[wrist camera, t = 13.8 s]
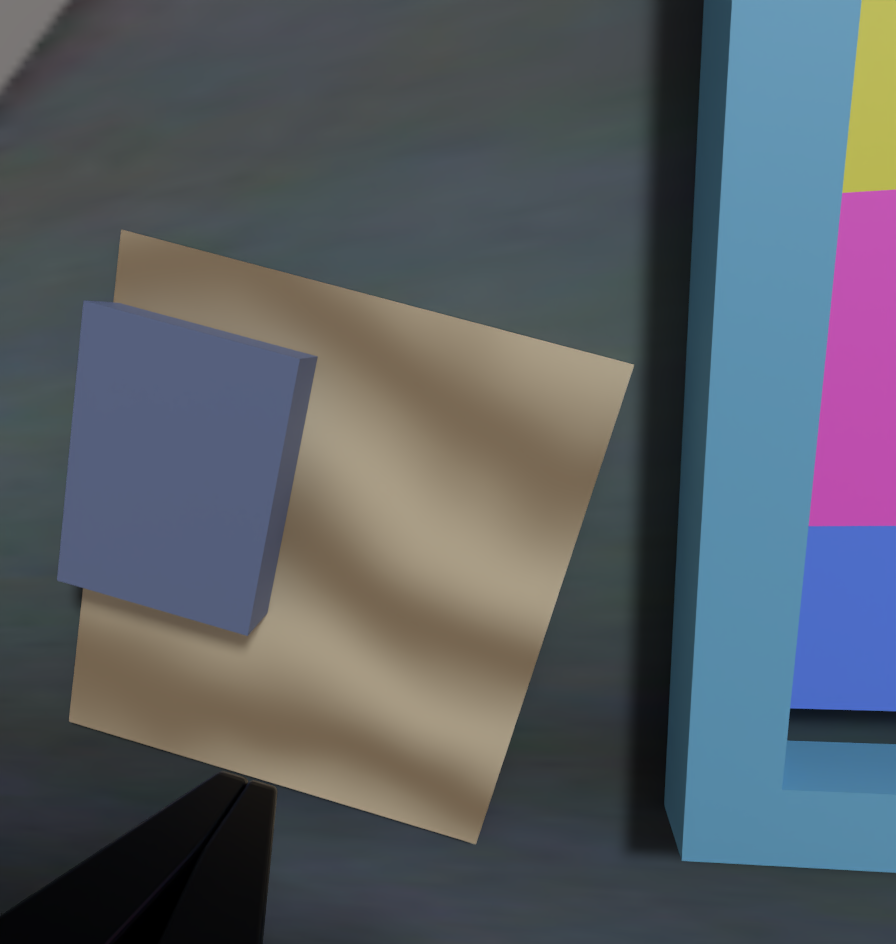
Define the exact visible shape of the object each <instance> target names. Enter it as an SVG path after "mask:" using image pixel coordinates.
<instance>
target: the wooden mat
mask: <svg viewBox="0 0 896 944" xmlns="http://www.w3.org/2000/svg"><path fill="white" fill-rule="evenodd" d="M114 303H122V304H125V305H129V306H133V307H136V308H140V309H144V310H148V311H151V312H155V313H159V314H162V315H166V316H170V317H173V318H177V319H181V320H185V321H188V322H192V323H196V324H199V325H203V326H207V327H211V328H214V329H218V330H222V331H225V332H229V333H233V334H236V335H240V336H244V337H248V338H251V339H255V340H259V341H262V342H266V343H270V344H274V345H277V346H281V347H285V348H288V349H292V350H296V351H300V352H303V353H307V354H311V355H314V356H318V358H317V363H316V368H315V373H314V378H313V383H312V388H311V393H310V398H309V404H308V409H307V414H306V419H305V424H304V429H303V434H302V439H301V444H300V450H299V455H298V460H297V465H296V470H295V475H294V480H293V485H292V490H291V495H290V501H289V506H288V511H287V516H286V521H285V526H284V531H283V536H282V541H281V547H280V552H279V557H278V562H277V567H276V572H275V577H274V582H273V587H272V592H271V598H270V603H269V608H268V613H267V614H266V615H265V616H264V618H263V619H262V620H261V621H260V622H259V623H258V625H257V626H256V627H255V628H254V629H253V630H252V631H251V633H250V634H249V635H248V636H246V635H242V634H239V633H236V632H232V631H229V630H225V629H222V628H218V627H215V626H212V625H208V624H205V623H201V622H198V621H194V620H191V619H188V618H184V617H181V616H177V615H174V614H171V613H167V612H164V611H160V610H157V609H153V608H150V607H147V606H143V605H140V604H136V603H133V602H129V601H126V600H123V599H119V598H116V597H112V596H109V595H105V594H102V593H99V592H95V591H92V590H88V589H85V588H83V594H82V603H81V612H80V622H79V631H78V641H77V650H76V659H75V669H74V678H73V688H72V697H71V706H70V716H69V722H72V723H75V724H79V725H82V726H85V727H89V728H92V729H95V730H99V731H102V732H105V733H109V734H112V735H115V736H119V737H122V738H125V739H128V740H132V741H135V742H138V743H142V744H145V745H148V746H152V747H155V748H158V749H162V750H165V751H168V752H172V753H175V754H178V755H182V756H185V757H188V758H191V759H195V760H198V761H201V762H205V763H208V764H211V765H215V766H218V767H221V768H225V769H228V770H231V771H235V772H238V773H241V774H244V775H248V776H251V777H254V778H258V779H261V780H264V781H268V782H271V783H274V784H278V785H281V786H284V787H288V788H291V789H294V790H297V791H301V792H304V793H307V794H311V795H314V796H317V797H321V798H324V799H327V800H331V801H334V802H337V803H341V804H344V805H347V806H351V807H354V808H357V809H360V810H364V811H367V812H370V813H374V814H377V815H380V816H384V817H387V818H390V819H394V820H397V821H400V822H404V823H407V824H410V825H413V826H417V827H420V828H423V829H427V830H430V831H433V832H437V833H440V834H443V835H447V836H450V837H453V838H457V839H460V840H463V841H466V842H470V843H473V844H476V842H477V839H478V836H479V833H480V830H481V827H482V824H483V821H484V818H485V815H486V812H487V809H488V806H489V803H490V800H491V797H492V794H493V791H494V788H495V785H496V782H497V779H498V776H499V773H500V770H501V767H502V764H503V760H504V757H505V754H506V751H507V748H508V745H509V742H510V739H511V736H512V733H513V730H514V727H515V724H516V721H517V718H518V715H519V712H520V709H521V706H522V703H523V700H524V697H525V694H526V691H527V688H528V685H529V682H530V679H531V676H532V673H533V670H534V667H535V664H536V661H537V658H538V655H539V652H540V649H541V646H542V643H543V639H544V636H545V633H546V630H547V627H548V624H549V621H550V618H551V615H552V612H553V609H554V606H555V603H556V600H557V597H558V594H559V591H560V588H561V585H562V582H563V579H564V576H565V573H566V570H567V567H568V564H569V561H570V558H571V555H572V552H573V549H574V546H575V543H576V540H577V537H578V534H579V531H580V528H581V525H582V522H583V518H584V515H585V512H586V509H587V506H588V503H589V500H590V497H591V494H592V491H593V488H594V485H595V482H596V479H597V476H598V473H599V470H600V467H601V464H602V461H603V458H604V455H605V452H606V449H607V446H608V443H609V440H610V437H611V434H612V431H613V428H614V425H615V422H616V419H617V416H618V413H619V410H620V407H621V404H622V401H623V397H624V394H625V391H626V388H627V385H628V382H629V379H630V376H631V373H632V370H633V367H634V365H633V364H629V363H626V362H622V361H618V360H614V359H610V358H607V357H603V356H599V355H595V354H592V353H588V352H584V351H580V350H576V349H573V348H569V347H565V346H561V345H557V344H554V343H550V342H546V341H542V340H538V339H535V338H531V337H527V336H523V335H519V334H516V333H512V332H508V331H504V330H501V329H497V328H493V327H489V326H485V325H482V324H478V323H474V322H470V321H466V320H463V319H459V318H455V317H451V316H447V315H444V314H440V313H436V312H432V311H428V310H425V309H421V308H417V307H413V306H409V305H406V304H402V303H398V302H394V301H391V300H387V299H383V298H379V297H375V296H372V295H368V294H364V293H360V292H356V291H353V290H349V289H345V288H341V287H337V286H334V285H330V284H326V283H322V282H318V281H315V280H311V279H307V278H303V277H300V276H296V275H292V274H288V273H284V272H281V271H277V270H273V269H269V268H265V267H262V266H258V265H254V264H250V263H246V262H243V261H239V260H235V259H231V258H227V257H224V256H220V255H216V254H212V253H208V252H205V251H201V250H197V249H193V248H190V247H186V246H182V245H178V244H174V243H171V242H167V241H163V240H159V239H155V238H152V237H148V236H144V235H140V234H136V233H133V232H129V231H125V230H121V237H120V246H119V255H118V265H117V274H116V284H115V293H114Z"/></svg>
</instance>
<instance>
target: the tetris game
mask: <svg viewBox="0 0 896 944" xmlns="http://www.w3.org/2000/svg"><path fill="white" fill-rule="evenodd" d="M790 708H796V709H833V710H869V711H896V0H704V10H703V30H702V50H701V71H700V91H699V111H698V131H697V151H696V172H695V192H694V212H693V232H692V252H691V273H690V293H689V313H688V333H687V353H686V374H685V394H684V414H683V434H682V454H681V475H680V495H679V515H678V535H677V555H676V576H675V596H674V616H673V636H672V656H671V677H670V697H669V717H668V737H667V757H666V778H665V798H664V806H665V810H666V813H667V816H668V819H669V822H670V825H671V829H672V832H673V835H674V838H675V841H676V844H677V847H678V851H679V854H680V857H681V860H682V861H694V862H712V863H731V864H749V865H767V866H785V867H803V868H821V869H839V870H857V871H875V872H893V873H896V744H867V743H838V742H808V741H787V734H788V724H789V714H790Z"/></svg>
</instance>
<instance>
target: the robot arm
mask: <svg viewBox="0 0 896 944" xmlns="http://www.w3.org/2000/svg"><path fill="white" fill-rule="evenodd" d="M276 800H277V789H276V787H274V786H272V785H268V784H265V783H262V782H258V781H255V780H252V781H250V782H248V780H247V779H246V778H245V777H242V776H239V775H235V774H232V773H229V772H225V771H222V772H218V773H216V774H215V775H213V776H212V777H210V778H209V779H207V780H206V781H204V782H203V783H201V784H200V785H198V786H197V787H195V788H194V789H192V790H191V791H189V792H187V793H186V794H184V795H183V796H181V797H180V798H178V799H177V800H175V801H174V802H172V803H171V804H169V805H168V806H166V807H165V808H163V809H162V810H160V811H159V812H157V813H156V814H154V815H153V816H151V817H150V818H148V819H146V820H145V821H143V822H142V823H140V824H139V825H137V826H136V827H134V828H133V829H131V830H130V831H128V832H127V833H125V834H124V835H122V836H121V837H119V838H118V839H116V840H115V841H113V842H112V843H110V844H109V845H107V846H106V847H104V848H102V849H101V850H99V851H98V852H96V853H95V854H93V855H92V856H90V857H89V858H87V859H86V860H84V861H83V862H81V863H80V864H78V865H77V866H75V867H74V868H72V869H71V870H69V871H68V872H66V873H65V874H63V875H61V876H60V877H58V878H57V879H55V880H54V881H52V882H51V883H49V884H48V885H46V886H45V887H43V888H42V889H40V890H39V891H37V892H36V893H34V894H33V895H31V896H30V897H28V898H27V899H25V900H24V901H22V902H20V903H19V904H17V905H16V906H14V907H13V908H11V909H10V910H8V911H7V912H5V913H4V914H2V915H1V916H0V944H263V935H264V924H265V914H266V904H267V893H268V883H269V873H270V862H271V852H272V842H273V831H274V821H275V811H276Z"/></svg>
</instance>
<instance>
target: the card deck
mask: <svg viewBox="0 0 896 944" xmlns="http://www.w3.org/2000/svg"><path fill="white" fill-rule="evenodd" d="M317 358H318V356H314V355H311V354H307V353H303V352H300V351H296V350H292V349H288V348H285V347H281V346H277V345H274V344H270V343H266V342H262V341H259V340H255V339H251V338H248V337H244V336H240V335H236V334H233V333H229V332H225V331H222V330H218V329H214V328H211V327H207V326H203V325H199V324H196V323H192V322H188V321H185V320H181V319H177V318H173V317H170V316H166V315H162V314H159V313H155V312H151V311H148V310H144V309H140V308H136V307H133V306H129V305H125V304H122V303H114V302H99V301H84V302H83V312H82V323H81V333H80V344H79V354H78V365H77V376H76V386H75V397H74V407H73V418H72V429H71V439H70V450H69V460H68V471H67V482H66V492H65V503H64V513H63V524H62V534H61V545H60V556H59V566H58V577H57V581H61V582H64V583H68V584H71V585H75V586H78V587H81V588H85V589H88V590H92V591H95V592H99V593H102V594H105V595H109V596H112V597H116V598H119V599H123V600H126V601H129V602H133V603H136V604H140V605H143V606H147V607H150V608H153V609H157V610H160V611H164V612H167V613H171V614H174V615H177V616H181V617H184V618H188V619H191V620H194V621H198V622H201V623H205V624H208V625H212V626H215V627H218V628H222V629H225V630H229V631H232V632H236V633H239V634H242V635H246V636H248V635H249V634H250V633H251V631H252V630H253V629H254V628H255V627H256V626H257V625H258V623H259V622H260V621H261V620H262V619H263V618H264V616H265V615H266V614H267V613H268V608H269V603H270V598H271V592H272V587H273V582H274V577H275V572H276V567H277V562H278V557H279V552H280V547H281V541H282V536H283V531H284V526H285V521H286V516H287V511H288V506H289V501H290V495H291V490H292V485H293V480H294V475H295V470H296V465H297V460H298V455H299V450H300V444H301V439H302V434H303V429H304V424H305V419H306V414H307V409H308V404H309V398H310V393H311V388H312V383H313V378H314V373H315V368H316V363H317Z"/></svg>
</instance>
